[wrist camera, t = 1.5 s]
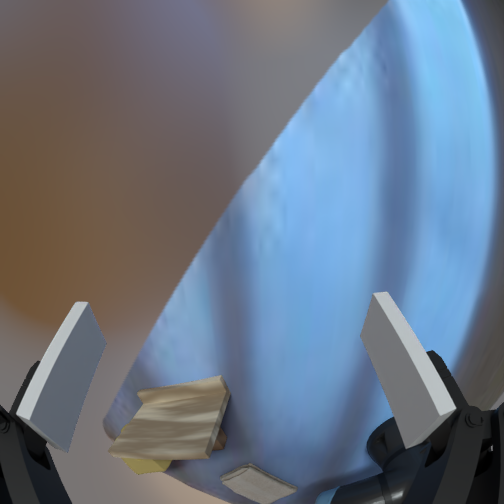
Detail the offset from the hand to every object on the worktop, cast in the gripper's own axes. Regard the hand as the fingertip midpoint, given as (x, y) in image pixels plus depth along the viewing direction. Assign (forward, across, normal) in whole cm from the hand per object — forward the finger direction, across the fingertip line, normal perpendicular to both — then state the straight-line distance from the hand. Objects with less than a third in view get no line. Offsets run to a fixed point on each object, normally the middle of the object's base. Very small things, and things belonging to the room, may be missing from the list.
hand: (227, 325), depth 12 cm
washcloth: (+8, -2, +68) cm, 69 cm away
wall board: (+19, +11, +45) cm, 50 cm away
